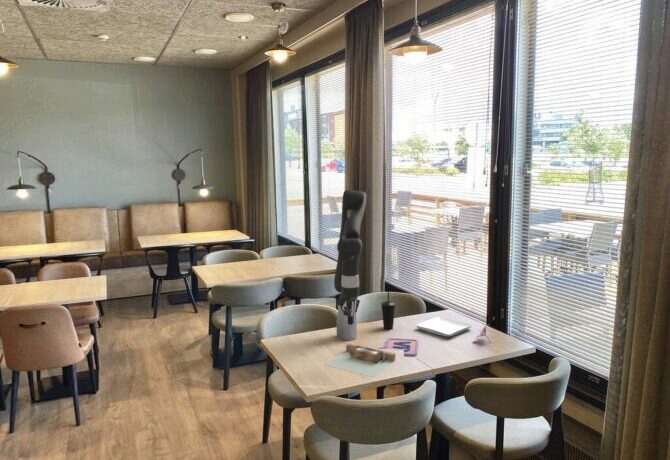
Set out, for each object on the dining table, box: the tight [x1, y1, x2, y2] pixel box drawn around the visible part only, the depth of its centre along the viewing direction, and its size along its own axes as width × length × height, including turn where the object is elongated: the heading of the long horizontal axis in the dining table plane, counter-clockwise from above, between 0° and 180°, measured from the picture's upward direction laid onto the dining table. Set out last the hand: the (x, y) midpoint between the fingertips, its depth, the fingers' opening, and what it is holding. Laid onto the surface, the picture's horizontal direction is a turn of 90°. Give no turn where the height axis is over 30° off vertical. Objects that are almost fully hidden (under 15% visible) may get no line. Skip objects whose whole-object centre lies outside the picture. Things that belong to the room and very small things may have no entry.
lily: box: [472, 325, 492, 343], centre depth 248 cm, size 12×12×10 cm
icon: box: [374, 337, 419, 357], centre depth 243 cm, size 19×2×20 cm
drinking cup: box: [380, 290, 397, 331], centre depth 268 cm, size 8×8×20 cm
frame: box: [351, 344, 384, 364], centre depth 227 cm, size 13×6×4 cm, turn 58°
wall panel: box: [325, 343, 396, 378], centre depth 223 cm, size 24×20×4 cm
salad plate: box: [415, 315, 473, 338], centre depth 265 cm, size 21×21×3 cm
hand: (350, 323), depth 220 cm, fingers closed
